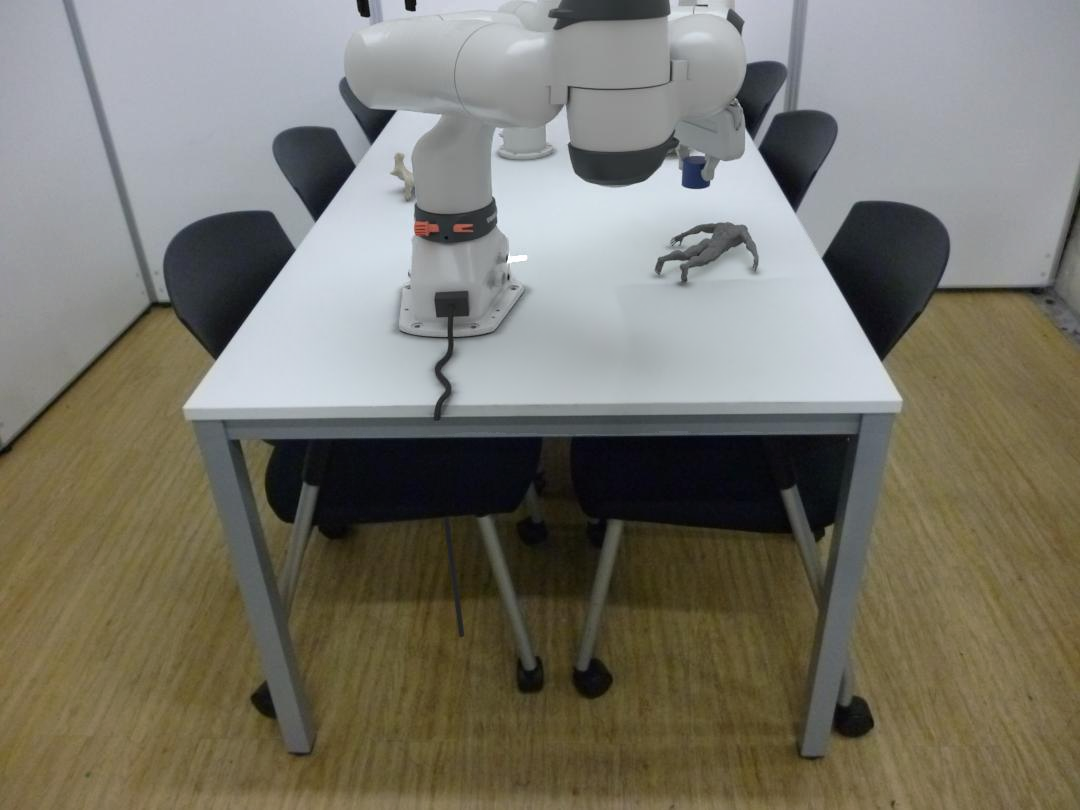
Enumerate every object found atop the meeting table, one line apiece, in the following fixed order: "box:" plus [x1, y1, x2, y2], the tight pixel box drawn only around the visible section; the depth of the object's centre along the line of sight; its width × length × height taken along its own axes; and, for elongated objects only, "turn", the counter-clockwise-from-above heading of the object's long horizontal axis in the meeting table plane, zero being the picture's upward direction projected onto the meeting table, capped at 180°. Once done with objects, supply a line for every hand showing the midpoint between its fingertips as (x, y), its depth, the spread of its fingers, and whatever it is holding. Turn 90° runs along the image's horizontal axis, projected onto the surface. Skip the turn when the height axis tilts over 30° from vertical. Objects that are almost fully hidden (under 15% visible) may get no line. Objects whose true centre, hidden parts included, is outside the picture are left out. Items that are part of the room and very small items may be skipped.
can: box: [681, 155, 711, 190], centre depth 139 cm, size 5×5×4 cm
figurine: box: [654, 221, 760, 284], centre depth 133 cm, size 17×4×20 cm
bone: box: [389, 152, 415, 200], centre depth 169 cm, size 10×6×10 cm
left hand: (695, 174), depth 139 cm, fingers closed on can, 5 cm apart
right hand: (388, 13), depth 160 cm, fingers open, 9 cm apart
